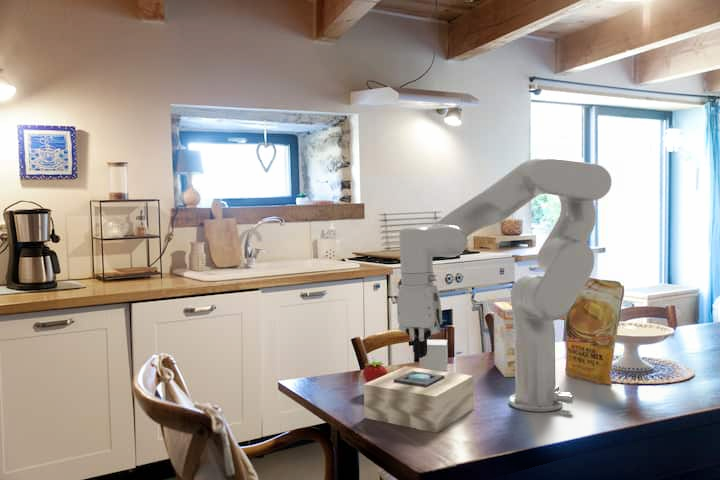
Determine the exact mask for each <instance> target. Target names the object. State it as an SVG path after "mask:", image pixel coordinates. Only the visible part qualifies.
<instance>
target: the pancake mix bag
mask: <svg viewBox="0 0 720 480" xmlns="http://www.w3.org/2000/svg"><path fill="white" fill-rule="evenodd" d="M624 295H625V285H622V283H621V281H616V280H608V279H597V278H594V277H589V279H588V280H587V282H586V284H585V285H584V287H583V289H582V290H581V292H580V294H579V295H578V297H577V299H576V300H575V302H574V304H573V305H572V307H571V308H570V310H569V311H568V312H567V313H566V314H565V315H564V328H565V347H566V356H565V357H566V358H565V370H564V372H565V373H567V375H568V376H571V377H573V378H576V379H580V380H582V381H587V382H590V383H593V384H597V385H610V386H613V385H612V377H611V370H612V365H613V360H614V356H615V355H614V353H615V346H616V341H617V336H618V327H619V324H620V318H621V312H622V311H621V310H622V305H623V301H624Z"/></svg>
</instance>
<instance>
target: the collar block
mask: <svg viewBox="0 0 720 480" xmlns="http://www.w3.org/2000/svg"><path fill="white" fill-rule="evenodd" d="M414 374H425V375H429V376H430V379H429V380H427V381H425V382H420V381H413V380H409V376H410V375H414ZM474 393H475V391H474V376H473V375H470V374H463V373H455V372H449V371H448V372H442V371H435V370H428V369H421V368H419V367H413V366H407V365H405V366H403V367H400V368H398V369H395V370H394V371H391V372H389V373H387V374H386V375H384V376H382V377H380V378H377V379H375V380H373V381H370V382H368V383H367V382H365V383H364V384H363V405H364V406H363V407H364V409H363V410H364V412H363V413H364V419H367V420H374V421H378V422H382V423H387V424H393V425H397V426H402V427H407V428H412V429H415V428H416V430H422V431H426V432H431V433H439V432H440V431H442V430H443V429H445V428H447V427H448V426H450V425H451V424H452V423H454V422H456V421H457V420H458V419H460V418H462V417H464V416H465V415H466V414H468V413H470V412H471V411H472V410H474V409H475V403H474V402H475V401H474V400H475V398H474V397H475V394H474Z"/></svg>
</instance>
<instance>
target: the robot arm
mask: <svg viewBox="0 0 720 480" xmlns="http://www.w3.org/2000/svg"><path fill="white" fill-rule="evenodd" d="M611 187H612V176H611V174H610V172H609V171H608V170H607V169H606V168H605V167H604V166H602V165H601V164H597V163H593V162H585V161H579V160H570V159H563V158H556V157H552V156H550V157H548V156H544V157H539V158H538V157H537V158H532V159H529V160H526V161H524V162H522V163H520V164H519V165H518V166H516V167H514V169H512V170H510V172H508V173H507V174H505V175H504V176H503V177H501V178H499V180H497V181H496V182H494V183H493V184H492V185H489V186H488V188H486V189H485V190H483V191H482V192H480V193H479V194H476V195H475V196H474V197H472V198H471V199H469V200H467V201H466V202H465V203H463V204H461V205H460V206H458V207H457V208H454V209H453V210H452V211H451V212H449V213H448V214H447V215H445V216H444V217H442V218H441V219H440V220H438V221H437V222H436V223H434V224H433V225H432V226H431V227H430V228H428V227H425V226H419V227H418V226H416V227H415V226H414V227H406V228H405V227H404V228H402V229H401V230H400V231H399V254H400V255H399V257H400V259H399V260H400V279H401V280H400V281H401V282H400V283H401V284H400V285H399V288H398V292H397V293H398V294H397V301H396V303H397V304H396V305H397V307H396V310H397V311H396V316H397V317H396V318H397V319H396V320H397V323H398V330H399V331H401V332H404V333H406V334H407V335H408V336H409V337H410V340H411V341H412V352H413V356H414V358H415V359H417V358H418V359H419V358H422V357H424V356H426V355H427V340H430V339H429V338H430V337H431V336H432V335H436V334H438V333H441V330H442V329H441V327H440V326H441V325H442V324H443V311H442V304H441V303H442V302H441V297H440V296H441V295H440V292H439V288H438V285H437V284H434V283H435V282H438V280H439V276H438V275H437V274H434V273H435V272H434V269H433V267H434V266H433V257H443V258H455V257H457V256H459V255H461V254H462V253H463V252H464V251H466V248H467V246H468V237H469V236H470V235H472V234H473V233H476V232H477V231H479V230H482V229H484V228H487V227H489V226H494V225H497V224H499V223H502V222H503V221H505V220H507V219H508V218H510V217H511V216H512V215H513V214H515V213H517V211H519V210H520V209H521V208H522V207H524V206H526V205H527V204H528V203H530V202H531V201H533V199H535V198H537V197H538V196H540V195H553V196H557V197H558V198H559V202H560V213H559V216H558V219H557V221H556V222H555V224H554V225H553V227H552V229H551V230H550V232H549V234H548V236H547V238H546V239H545V241H544V242H543V244H542V245H541V247H540V249H539V251H538V253H537V256H536V257H537V258H536V262H537V266H538V268H539V269H540V270H541V271H542V272H543V273H544V274H543V276H540V275H535V274H534V275H533V274H528V275H524V276H522V277H520V278H518V279H517V280H516V281H515V283H514V284H513V286H512V288H511V291H510V302H511V305H512V311H513V318H514V334H515V377H514V383H515V384H514V386H515V387H514V389H515V392H514V394H511V395H510V396H509V398H508V403H509V405H510V406H511V407H514V408H516V409H518V410H522V411H527V412H535V413H537V412H539V413H541V412H543V413H544V412H552V411H556V410H559V409H561V408H562V407H563V403H564V404H570V405H572V404H573V402H574V396H573V395H572V393H570V392H562V391H561V390H560V385H558V384H557V385H556V331H555V322H554V321H557V320H559V319H561V318H563V317H565V314H566V313H567V312H568V311H569V310H570V308H571V307H572V305H573V304H574V302H575V300H576V299H577V297H578V295H579V294H580V292H581V290H582V289H583V287H584V285H585V284H586V282H587V280H588V279H589V278H591V275H592V273H593V271H594V267H595V254H594V251H593V249H592V247H591V246H590V245H589V244H588V243H587V242H588V240H589V238H590V237H591V235H592V232H593V231H594V228H595V225H596V221H597V214H596V207H595V202H594V201H598V200H601V199H602V198H604V197H605V196H607V194H608V193H609V192H610V190H611Z"/></svg>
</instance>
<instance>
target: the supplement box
mask: <svg viewBox="0 0 720 480" xmlns="http://www.w3.org/2000/svg"><path fill="white" fill-rule="evenodd" d="M448 356H449V355H448V339H427V355H426V356H424V357H422V358H418V359H419V360H418V362H419V363H418V364H419V367H418V368H421V369H428V370H435V371H442V372H449V369H448V367H449V365H448V364H449V363H448V362H449V361H448V359H449V357H448Z"/></svg>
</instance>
